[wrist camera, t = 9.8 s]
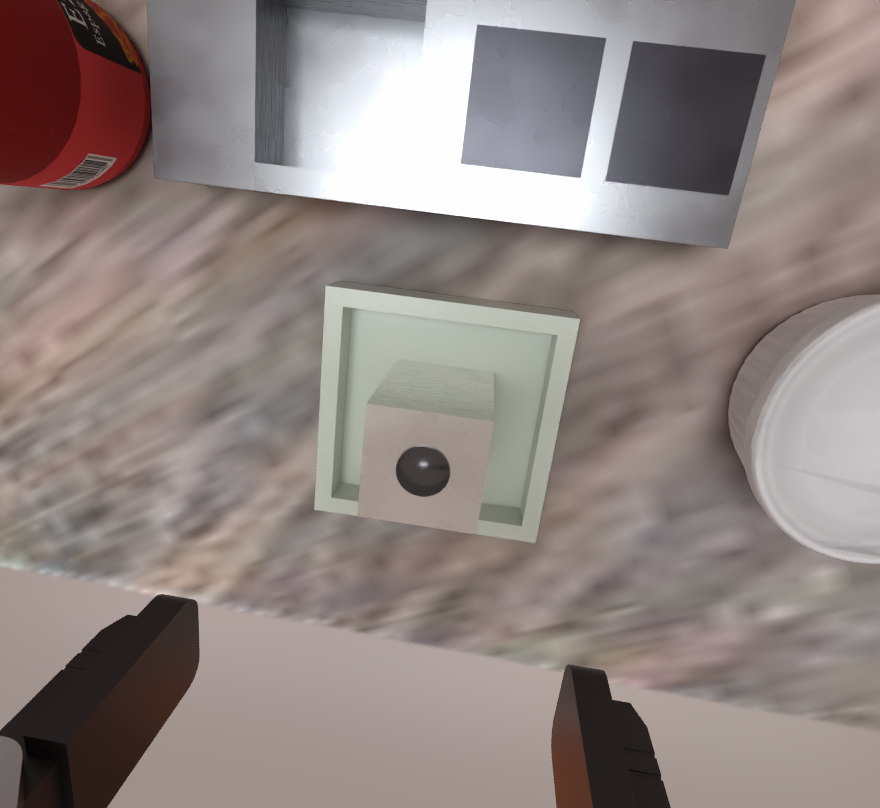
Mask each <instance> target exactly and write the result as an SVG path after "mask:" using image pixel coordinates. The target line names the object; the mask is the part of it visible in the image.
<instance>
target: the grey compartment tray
mask: <svg viewBox="0 0 880 808" xmlns="http://www.w3.org/2000/svg"><path fill="white" fill-rule="evenodd" d="M795 2H796V0H147V20H148V42H149V65H150V88H151V110H152V133H153V155H154V178H158V179H165V180H172V181H179V182H186V183H193V184H200V185H207V186H215V187H223V188H231V189H239V190H247V191H255V192H263V193H271V194H279V195H288V196H296V197H304V198H312V199H320V200H328V201H336V202H344V203H352V204H360V205H368V206H377V207H385V208H393V209H401V210H409V211H417V212H425V213H433V214H441V215H449V216H458V217H466V218H474V219H482V220H490V221H498V222H506V223H514V224H522V225H530V226H538V227H547V228H555V229H563V230H571V231H579V232H587V233H595V234H603V235H611V236H619V237H627V238H636V239H644V240H652V241H660V242H668V243H676V244H684V245H693V246H703V247H714V248H724V249H728V246H729V243H730V239H731V235H732V232H733V228H734V224H735V221H736V217H737V213H738V210H739V206H740V202H741V199H742V195H743V191H744V188H745V184H746V180H747V177H748V173H749V170H750V166H751V162H752V159H753V155H754V151H755V148H756V144H757V140H758V137H759V133H760V129H761V126H762V122H763V118H764V115H765V111H766V107H767V104H768V100H769V96H770V93H771V89H772V86H773V82H774V78H775V75H776V71H777V67H778V64H779V60H780V56H781V53H782V49H783V45H784V42H785V38H786V34H787V31H788V27H789V23H790V20H791V16H792V13H793V9H794V5H795Z"/></svg>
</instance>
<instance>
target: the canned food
mask: <svg viewBox="0 0 880 808" xmlns="http://www.w3.org/2000/svg"><path fill="white" fill-rule="evenodd" d="M150 115H151V98H150V90H149V83H148V80H147V76H146V73H145V69H144V66H143V64H142V62H141V60H140V58H139V56H138V53H137V51H136V49H135V48H134V46H133V45H132V43H131V42H130V40H129V39H128V37H127V36H126V35H125V33H124V32H123V31H122V29H121V28H120V27H119V26H118V24H117V23H116V22H115V21H114V20H113V19H112V18H111V17H110V16H109V15H108V14H107V13H106V12H105V11H104V10H103V9H102V8H101V7H100V6H98V5H97V4H95V3H94V2H93V1H91V0H0V184H3V185H15V186H28V187H40V188H52V189H65V190H78V189H87V188H90V187H94V186H98V185H100V184H103V183H105V182H108V181H110V180H111V179H113V178H115V177H117V176H119V175H120V174H122V173H123V172H124V171H125V170H126V169H127V168H128V167H129V166H130V165H131V164H132V163H133V162H134V160H135V159H136V157H137V156H138V155H139V153H140V151H141V149H142V147H143V144H144V142H145V140H146V137H147V133H148V129H149V124H150Z"/></svg>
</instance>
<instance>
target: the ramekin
mask: <svg viewBox="0 0 880 808" xmlns="http://www.w3.org/2000/svg"><path fill="white" fill-rule="evenodd" d="M728 415H729V422H728V424H729V428H730V435H731V439H732V441H733V443H734V448H735V450H736V452H737V454H738V456H739V458H740V460H741V462H742V464H743V466H744V468H745V471H746V475H747V479H748V482H749V485H750V487H751V490H752V492H753V494H754V496H755V498H756V500H757V501H758V503H759V504H760V506H761V507H762V509H763V511H764V512H765V513H766V514H767V516H768V517H769V518H770V519H771V520H772V521H773V522H774V523H775V524H776V525H777V526H778V527H779V528H780V529H781V530H782V531H783V532H784V533H786V534H787V535H788V536H789V537H791V538H792V539H793V540H795V541H796V542H798V543H799V544H801V545H803V546H805V547H807V548H809V549H811V550H813V551H815V552H817V553H820V554H823V555H826V556H829V557H832V558H835V559H839V560H843V561H848V562H854V563H866V564H880V294H874V295H856V296H851V297H845V298H837V299H834V300H832V301H826V302H822V303H820V304H818V305H816V306H813V307H809V308H807V309H805V310H803V311H802V312H800V313H798V314H796V315H793V316H791V317H790V318H789V319H787V320H786V321H785V322H783V323H781V324H779V325H778V326H777V327H776V328H775V329H774V330H772V331H771V332H770V333H768V334H767V335H766V336H765V337H764V338H763V339H762V340H761V341H760V342H759V343H758V344H757V345H756V346H755V348H754V349H753V351H752V352H751V353H750V354H749V356H748V357H747V358H746V359H745V362H744V364H743V366H742V367H741V369H740V370H739V372H738V375H737V378H736V380H735V382H734V384H733V387H732V393H731V395H730V399H729V409H728Z"/></svg>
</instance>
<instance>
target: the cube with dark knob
mask: <svg viewBox="0 0 880 808" xmlns="http://www.w3.org/2000/svg"><path fill="white" fill-rule="evenodd" d="M493 427H494V372H490V371H483V370H476V369H469V368H462V367H454V366H447V365H440V364H433V363H425V362H418V361H411V360H404V359H398V360H397V361H396V363H395V364H394V365H393V367H392V368H391V370H390V371H389V372H388V374H387V375H386V377H385V378H384V379H383V381H382V382H381V384H380V385H379V386H378V388H377V389H376V391H375V392H374V393H373V395H372V396H371V398H370V399H369V400H368V402H367V403H366V414H365V427H364V439H363V452H362V464H361V477H360V489H359V502H358V514H357V516H358V517H364V518H371V519H378V520H384V521H391V522H397V523H404V524H410V525H417V526H423V527H430V528H436V529H443V530H449V531H456V532H463V533H469V534H476V533H477V527H478V521H479V515H480V508H481V502H482V496H483V490H484V483H485V477H486V471H487V464H488V458H489V452H490V446H491V439H492V433H493Z"/></svg>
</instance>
